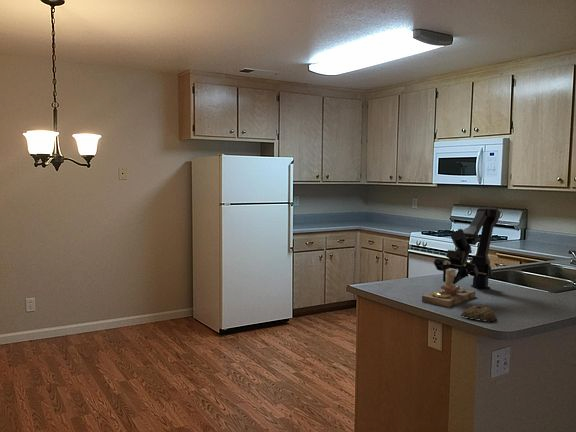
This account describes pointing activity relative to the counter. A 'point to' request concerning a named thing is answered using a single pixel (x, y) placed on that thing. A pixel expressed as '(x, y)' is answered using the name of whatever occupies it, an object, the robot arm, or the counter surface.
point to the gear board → (448, 301)
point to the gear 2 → (461, 289)
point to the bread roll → (479, 313)
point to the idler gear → (450, 282)
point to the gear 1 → (441, 294)
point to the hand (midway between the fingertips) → (448, 282)
